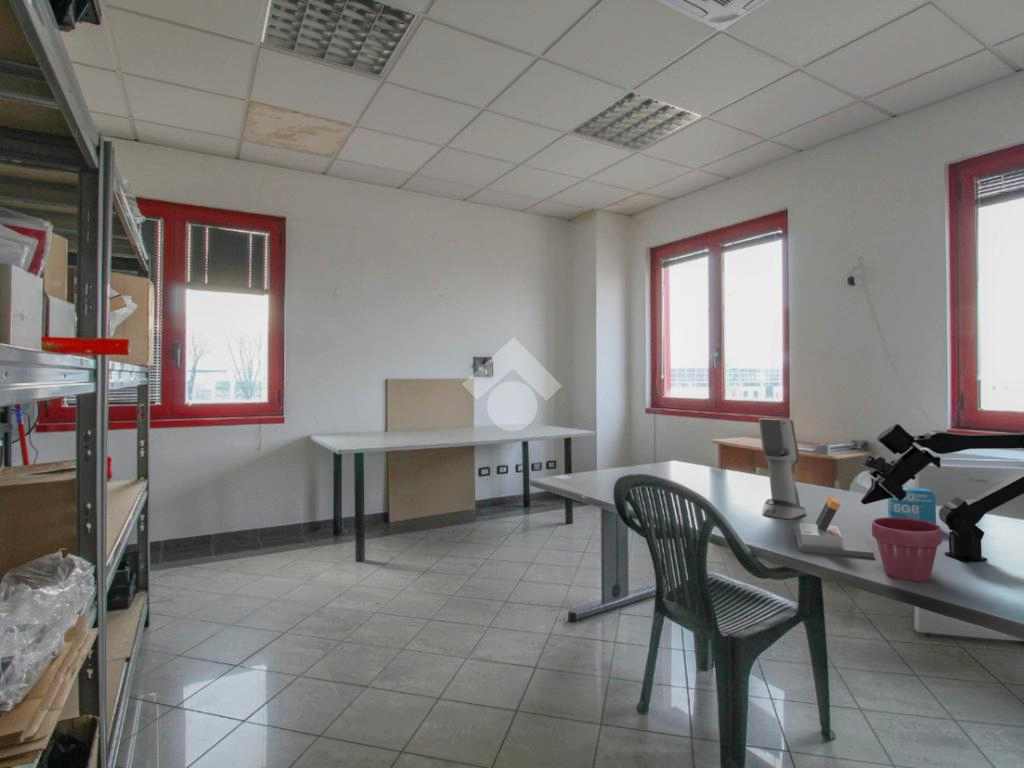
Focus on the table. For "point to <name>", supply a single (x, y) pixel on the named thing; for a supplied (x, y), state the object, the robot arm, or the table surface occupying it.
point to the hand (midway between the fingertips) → (862, 503)
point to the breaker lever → (827, 513)
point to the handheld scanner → (781, 468)
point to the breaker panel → (847, 549)
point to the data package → (914, 505)
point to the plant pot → (907, 546)
